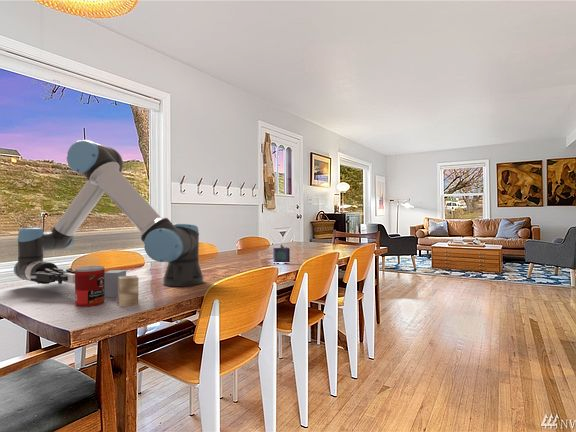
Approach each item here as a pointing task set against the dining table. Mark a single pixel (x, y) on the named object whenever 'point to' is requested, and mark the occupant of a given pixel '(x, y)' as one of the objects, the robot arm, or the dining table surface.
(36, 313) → the dining table surface
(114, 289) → the slate-blue painted block
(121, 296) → the beech block
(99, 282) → the canned food
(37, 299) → the dining table surface
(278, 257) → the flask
